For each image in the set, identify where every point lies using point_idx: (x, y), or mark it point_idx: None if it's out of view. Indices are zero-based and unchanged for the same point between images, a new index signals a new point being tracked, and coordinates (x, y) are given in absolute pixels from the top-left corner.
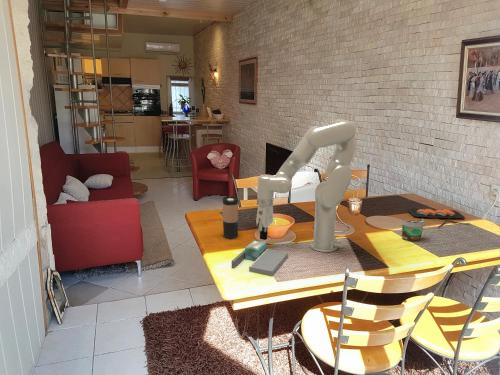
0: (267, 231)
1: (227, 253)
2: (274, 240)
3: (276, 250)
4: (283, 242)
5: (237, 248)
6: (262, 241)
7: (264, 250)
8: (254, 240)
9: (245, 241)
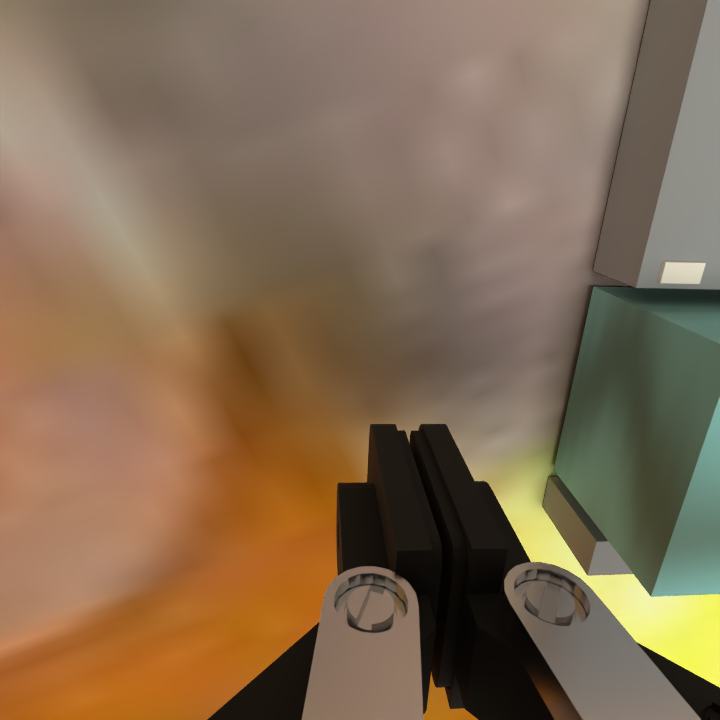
0: (407, 544)
1: (694, 661)
2: (30, 332)
3: (694, 70)
4: (11, 132)
5: None
6: (712, 437)
7: (713, 304)
8: (679, 582)
9: None
